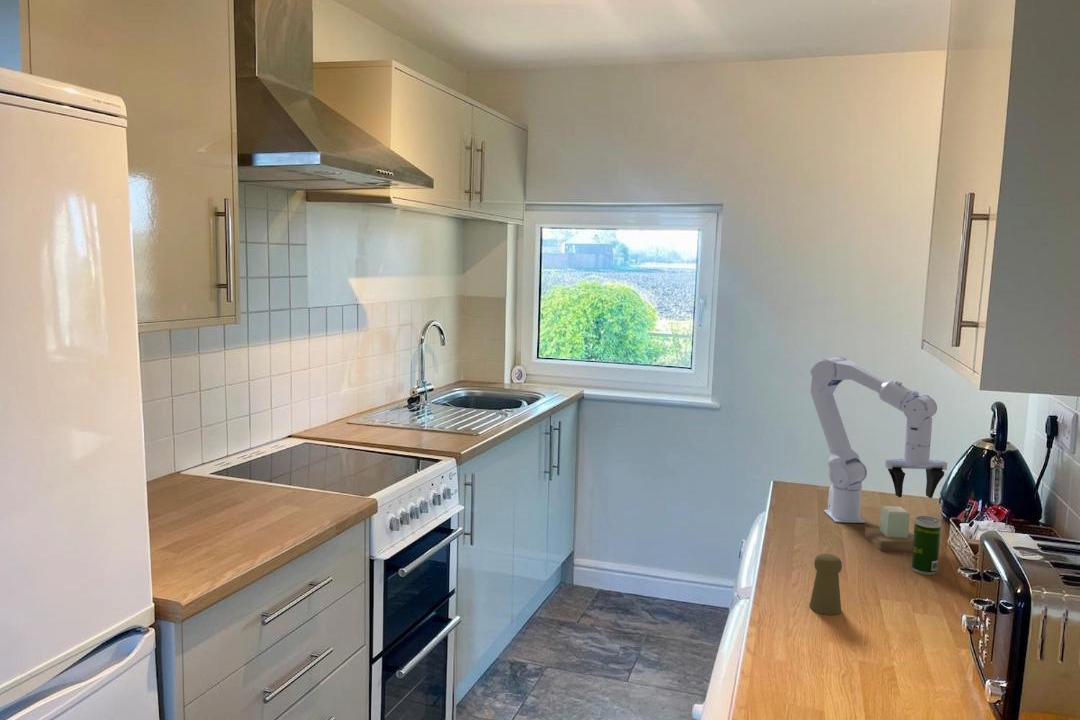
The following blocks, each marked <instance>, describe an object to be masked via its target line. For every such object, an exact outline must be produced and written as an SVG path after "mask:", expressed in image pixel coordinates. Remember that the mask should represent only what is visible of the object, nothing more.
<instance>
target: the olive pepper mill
mask: <svg viewBox="0 0 1080 720" xmlns="http://www.w3.org/2000/svg"><path fill="white" fill-rule="evenodd" d="M813 565H814V569H815V571H816V573H815V577H814V583H813V588H812V590H811V591H812V592H811V597H810V601H809V609H810V610H811V611H813V612H815V613H817V614H820V615H825V616H837V615H839V614H841V612H842V604H841V603H842V602H841V590H840V589H841V588H840V578H839V577H840V576H839V573H841V571H842V569H843V564H842V560H841V559H840V557H839V556H837V555H835V554H830V553H820V554H817V555H816V556H815V558H814V561H813Z"/></svg>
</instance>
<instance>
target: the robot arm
mask: <svg viewBox="0 0 1080 720" xmlns="http://www.w3.org/2000/svg"><path fill="white" fill-rule="evenodd" d="M809 372H810V375H811V385H810V394H811V398H812V401H813V404H814V407H815V410H816V413H817V416H818V420H819V422H820V425H821V428H822V431H823V435H824V437H825V440H826V444H827V447H828V450H829V453H830V456H829V458H828V461H827V465H828V467H829V468H828V469H829V472H828V479H829V481H830V482H831V483H832V484H831V485H830V487H829V489H828V500H827V509H824V513H826V515H828V516H829V518H831V519H832V520H833V521H834V522H835V523H851V524H852V523H853V524H854V523H856V524H857V523H860V524H861V523H862V524H863V523H866V520H864V518H863V517H862V516H861V505H862V504H861V502H862V501H861V500H862V488H863V487H862V483H863V481H864V480H865V479H866V478H867V477H868V469H867V467H866V465H865V464H864V463H863V461H862V460H861V459H860V456H859V454H858V453H857V452H856V451H854V449H852V446H851V444H850V441H849V438H848V435H847V432H846V428H845V426H844V423H843V420H842V417H841V415H840V411H839V409H838V405H837V403H836V400H835V397H834V393H835V391H836V389H837V387H838V386H839V384H841V383H842V382H843V381H844V380H845V381H846V380H851V381H852V382H853V381H854V382H855V383H857V384H859V385H862V386H863V387H865V388H867V389H869V390H872V391H874V392H875V393H877V394H878V396H879V399H880V400H881V401H882V402H884V403H886V404H888V405H889V406H891V407H894V408H895V409H896V410H899V411H901V412H902V413H903V415H904V417H905V418H906V429H905V443H904V455H903V458H894V459H885V463H884V465H885V468H886V469H887V470H888V472H889V475H890V478H891V480H892V483H893V487H894V494H895V496H896V497H898V498H902V496H903V489H904V488H903V485H904V480H905V476H906V473H905V472H904V470H903V469H910V470H911V469H913V470H914V469H916V470H919V469H920V470H921V469H922V470H925V474H926V485H925V497H928V498H929V499H932V498H933V496H934V493H935V491H936V489H937V487H938V485H939V483H940V481H941V480H942V479H943V477H944V476H945V471H947V469H948V462H947V461H945V460H937V459H930V452H931V443H932V442H931V441H932V429H933V427H932V426H933V416H935V415H936V414H937V410H938V405H937V403H936V401H935V400H934V399H933V398H932V397H931V396H930V395H928V394H921V395H920V392H919V391H918V390H911V389H910V388H907V387H906V386H904V385H903V382H901V381H900V380H896V381H894V380H889V381H884V379H881V378H879V377H878V376H877V375H876V374H874V373H871V372H870V371H868V370H866V369H865V368H863V367H861V366H860V365H858V364H857V363H856V362H854V360H850V359H847V358H845V357H843V356H835V357H829V358H820V359H818V360H816V361H815V362H814V364H813V366H812V367H811V368H810V371H809Z"/></svg>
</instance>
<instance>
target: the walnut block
mask: <svg viewBox="0 0 1080 720" xmlns="http://www.w3.org/2000/svg"><path fill="white" fill-rule="evenodd" d="M913 536H914V533H912V532H911V531H909V530H908V538H894V537H886V536H885V535H884V534H883V533H882V532H881V531H880V527H875V526H873V527H872V526H871V527H870V526H869V527H868V526H865V527H864V538H866V540H867V541H869V542H870V543H871V544H872V545H873V546H874V547H876V548H877V550H879V551H880V552H908V553H909V552H910V553H911V552H912V550H913Z"/></svg>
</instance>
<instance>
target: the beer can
mask: <svg viewBox="0 0 1080 720" xmlns="http://www.w3.org/2000/svg"><path fill="white" fill-rule="evenodd" d="M941 532H942V525H941V520H940V519H938V518H936V517H933V516H926V515H921V516H920V515H919V516H916V517H915V520H914V526H913V535H914V536H913V550H912V553H911V564H910V566H911V569H912V571H913V572H915V573H918V574H920V575H925V576H933V575H936V574H937V572H938V569H939V559H940V558H939V556H940V548H941V547H940V545H941V535H942V534H941Z"/></svg>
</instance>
